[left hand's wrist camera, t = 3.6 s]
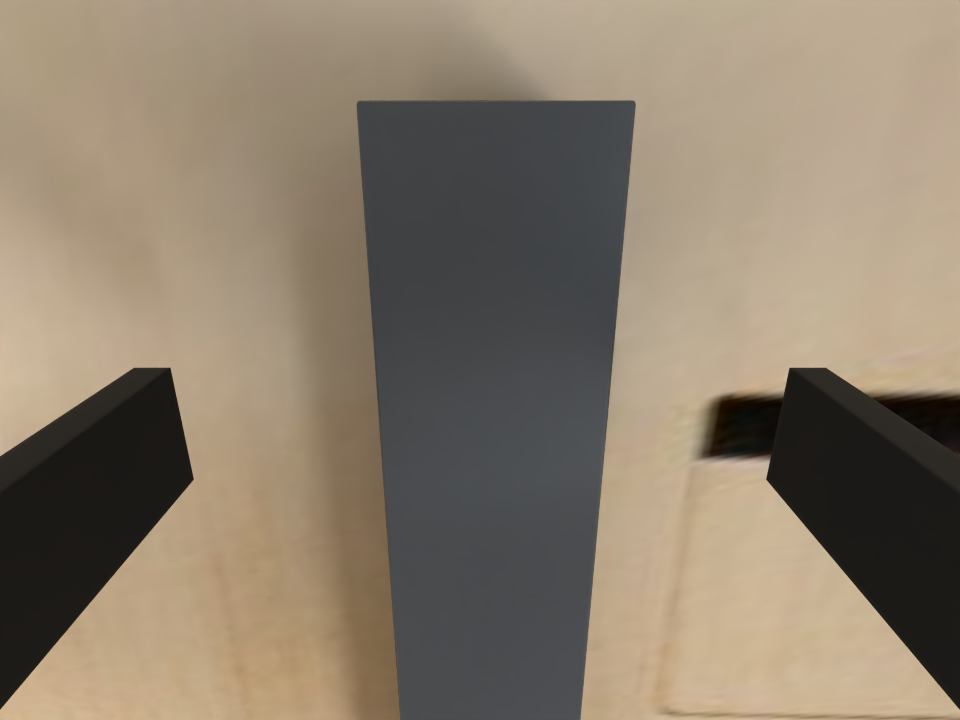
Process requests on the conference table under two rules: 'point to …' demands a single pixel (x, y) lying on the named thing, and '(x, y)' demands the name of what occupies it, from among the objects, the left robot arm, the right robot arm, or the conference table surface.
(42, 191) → the conference table surface
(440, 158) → the beam
